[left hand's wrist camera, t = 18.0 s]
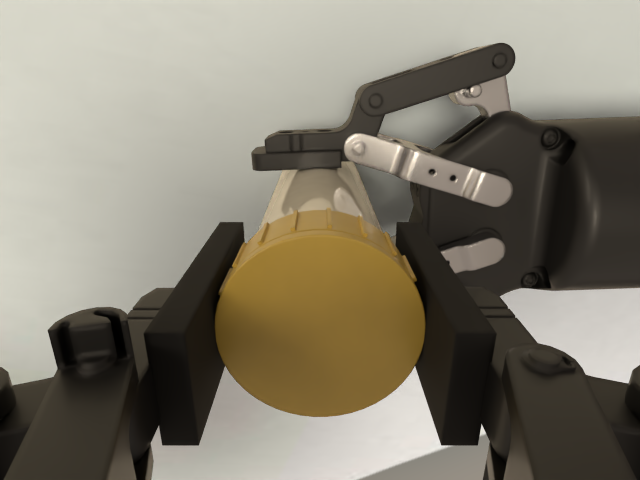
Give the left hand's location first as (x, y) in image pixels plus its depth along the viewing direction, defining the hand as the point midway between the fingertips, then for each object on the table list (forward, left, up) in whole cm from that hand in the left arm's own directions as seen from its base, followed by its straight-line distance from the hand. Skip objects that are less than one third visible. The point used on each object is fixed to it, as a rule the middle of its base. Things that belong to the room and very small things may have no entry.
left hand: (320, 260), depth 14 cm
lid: (0, 0, +4) cm, 4 cm away
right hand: (-2, +1, -5) cm, 6 cm away
